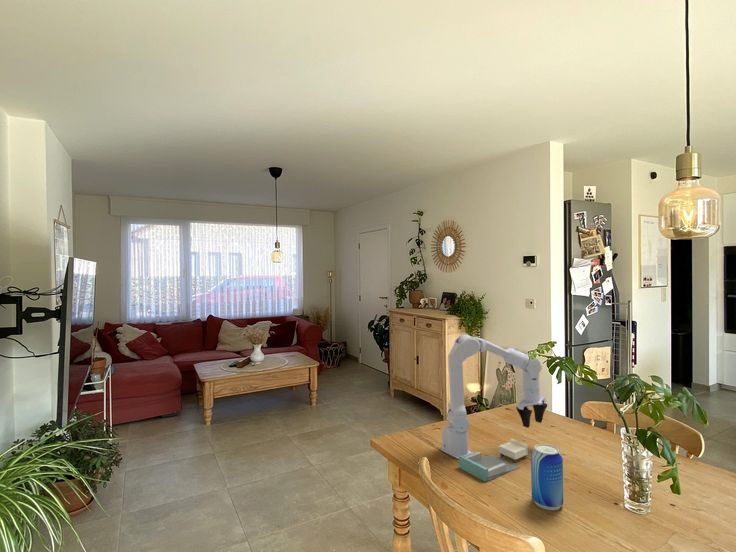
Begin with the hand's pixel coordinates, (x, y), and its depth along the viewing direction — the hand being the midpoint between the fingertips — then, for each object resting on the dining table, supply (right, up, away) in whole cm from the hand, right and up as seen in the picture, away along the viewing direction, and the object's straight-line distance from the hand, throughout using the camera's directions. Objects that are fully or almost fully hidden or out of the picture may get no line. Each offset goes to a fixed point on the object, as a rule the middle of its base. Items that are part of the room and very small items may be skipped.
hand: (532, 424), depth 151 cm
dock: (-21, -10, -13) cm, 27 cm away
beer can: (-10, -10, -35) cm, 38 cm away
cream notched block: (-9, -10, -6) cm, 15 cm away
